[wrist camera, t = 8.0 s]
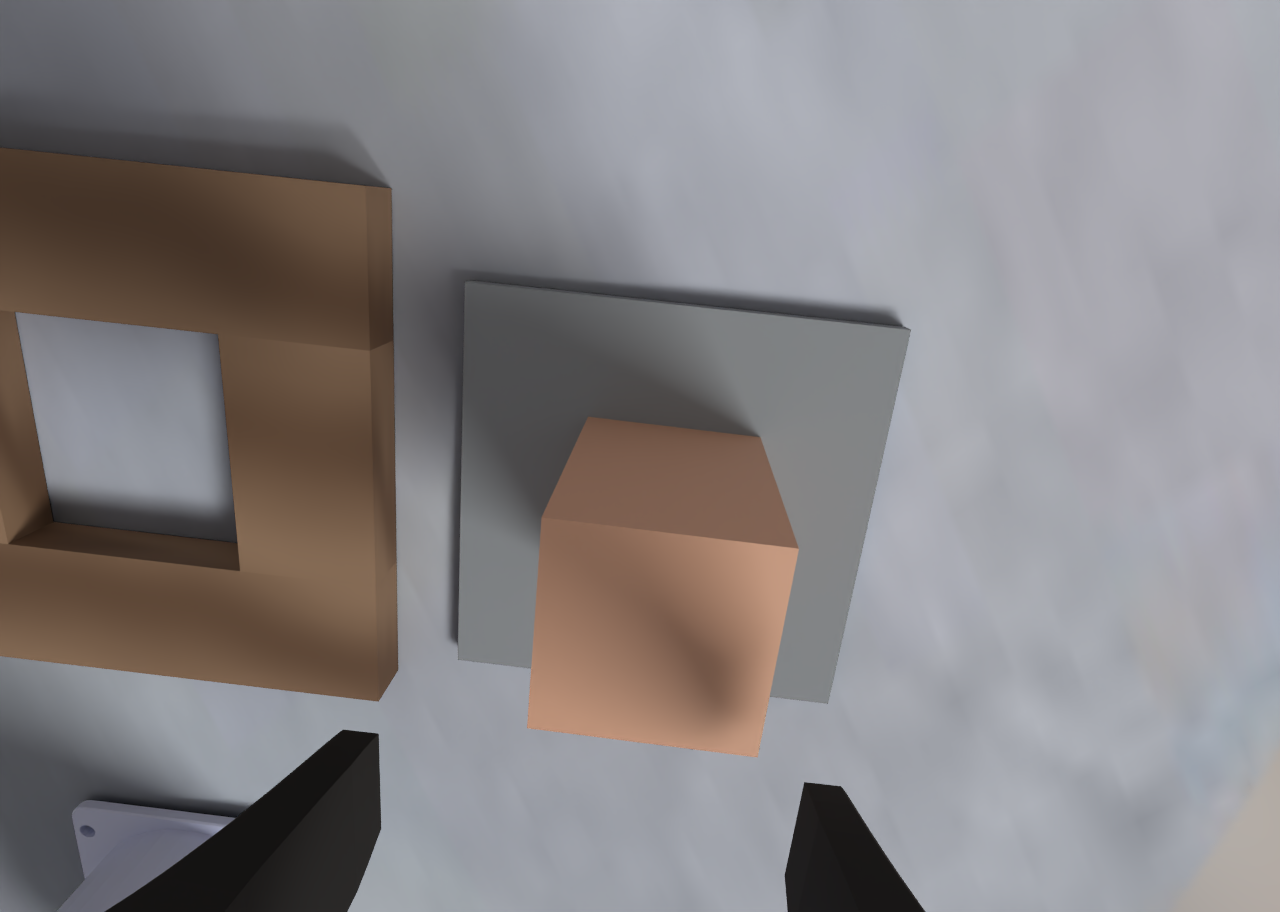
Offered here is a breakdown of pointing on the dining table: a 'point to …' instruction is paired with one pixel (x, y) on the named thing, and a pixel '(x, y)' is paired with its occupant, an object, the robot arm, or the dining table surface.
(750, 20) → the dining table surface
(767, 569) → the block
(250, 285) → the holder
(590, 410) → the mat
